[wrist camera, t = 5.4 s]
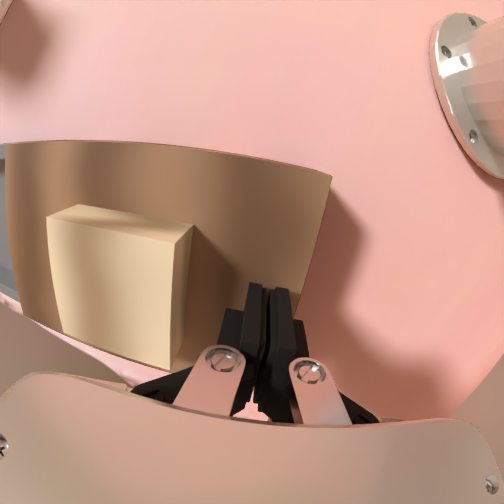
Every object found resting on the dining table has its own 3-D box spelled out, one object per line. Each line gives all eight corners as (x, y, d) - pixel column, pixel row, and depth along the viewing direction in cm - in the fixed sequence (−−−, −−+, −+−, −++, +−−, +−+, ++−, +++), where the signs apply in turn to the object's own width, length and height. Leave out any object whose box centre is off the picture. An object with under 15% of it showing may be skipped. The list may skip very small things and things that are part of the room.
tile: (193, 224, 11) (174, 243, 9) (183, 338, 13) (170, 370, 11) (78, 204, 11) (46, 216, 9) (86, 309, 13) (63, 332, 11)
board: (315, 169, 14) (332, 176, 10) (268, 349, 18) (267, 392, 14) (46, 140, 13) (6, 144, 10) (52, 290, 18) (23, 314, 14)
